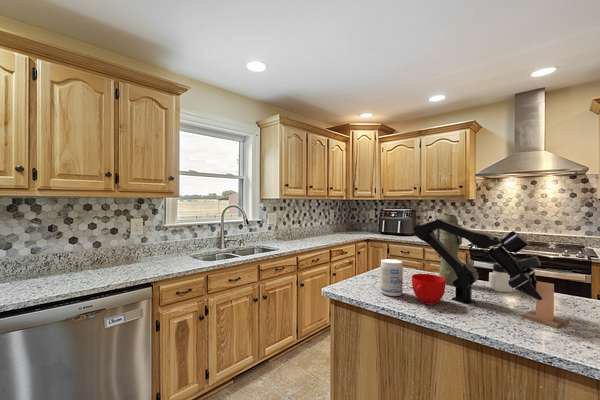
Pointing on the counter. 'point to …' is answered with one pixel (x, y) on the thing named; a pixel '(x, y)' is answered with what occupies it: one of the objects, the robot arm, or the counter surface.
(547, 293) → the terracotta block
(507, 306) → the counter surface
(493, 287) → the medicine bottle
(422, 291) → the ceramic cup
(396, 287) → the supplement tub
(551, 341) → the counter surface
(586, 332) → the counter surface
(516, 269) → the robot arm
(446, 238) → the thermos
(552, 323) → the walnut board
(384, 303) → the counter surface
